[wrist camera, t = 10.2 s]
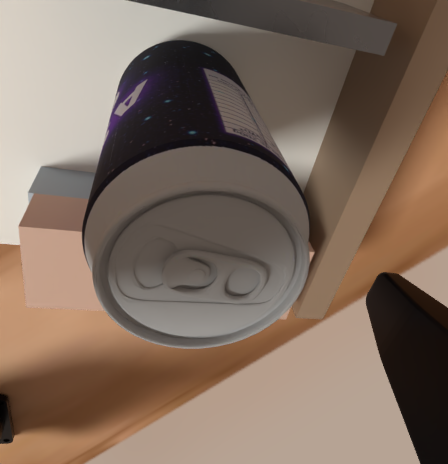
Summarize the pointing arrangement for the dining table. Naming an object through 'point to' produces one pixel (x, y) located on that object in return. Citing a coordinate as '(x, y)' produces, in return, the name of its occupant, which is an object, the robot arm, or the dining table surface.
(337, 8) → the grey flat plate
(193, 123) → the beverage can
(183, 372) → the dining table surface
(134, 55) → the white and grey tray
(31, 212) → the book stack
